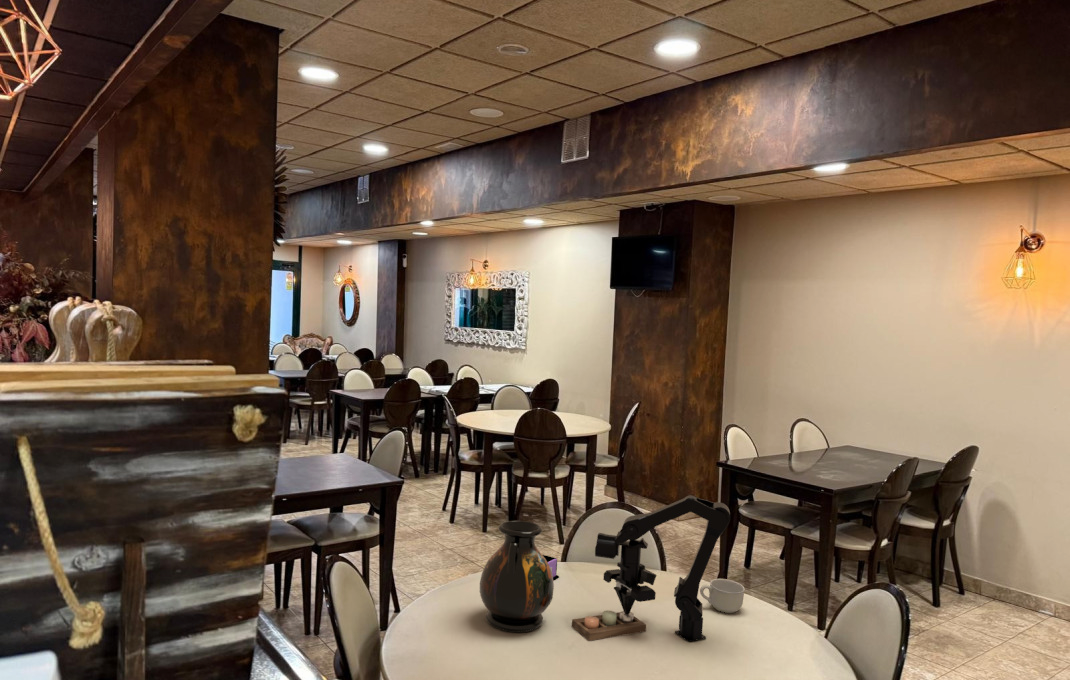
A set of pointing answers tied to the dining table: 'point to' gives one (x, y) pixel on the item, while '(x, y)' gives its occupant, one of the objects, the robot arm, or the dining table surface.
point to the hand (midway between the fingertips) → (626, 613)
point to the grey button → (626, 617)
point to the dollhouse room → (552, 565)
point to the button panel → (608, 628)
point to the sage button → (609, 618)
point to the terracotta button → (591, 622)
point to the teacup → (724, 595)
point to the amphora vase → (517, 580)
